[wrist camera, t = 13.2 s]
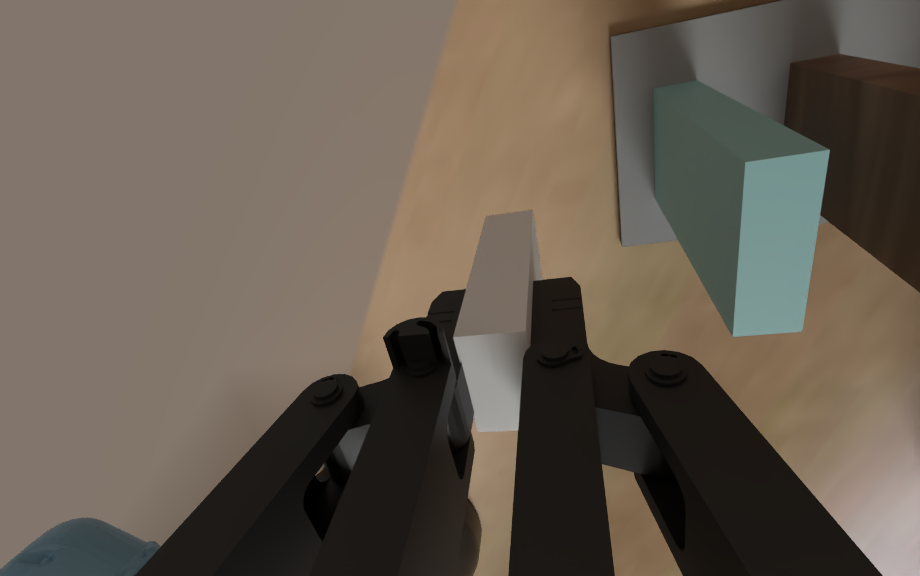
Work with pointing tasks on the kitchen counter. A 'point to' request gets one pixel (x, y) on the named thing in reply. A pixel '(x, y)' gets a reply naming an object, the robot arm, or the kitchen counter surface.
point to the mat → (736, 75)
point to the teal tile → (740, 204)
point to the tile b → (865, 151)
